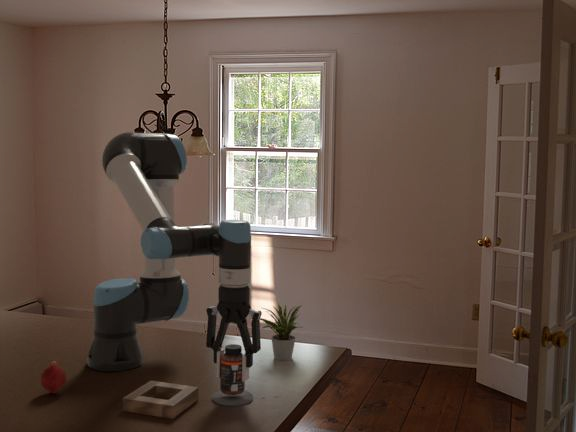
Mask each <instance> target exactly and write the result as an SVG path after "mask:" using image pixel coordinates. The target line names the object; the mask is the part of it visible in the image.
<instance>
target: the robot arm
mask: <svg viewBox="0 0 576 432" xmlns="http://www.w3.org/2000/svg"><path fill="white" fill-rule="evenodd" d="M101 157H102V158H101V162H102V163H101V164H102V167H103V168H102V169H103V171H104V173H105V175H106V177H107V178H108V180H110V181H111V182H112V183H113V184H115V185H116V186H117V188H118V190H119V192H120V193H121V195H122V197H123V199H124V200H125V202H126V204H127V206H128V207H129V209H130V211H131V213H132V214H133V216H134V218H135V219H136V221H137V223H138V224H139V226H140V228H141V230H142V233H141V237H140V246H141V250H142V251H141V252H142V254H143V256H144V269H143V270H142V272H141V273H140V274H139V282H138V281H137V280H136V279H135V278H131V277H123V278H113V279H108V280H105V281H103V282H100V283H98V284H97V286H96V287H95V288H94V290H93V300H92V303H93V304H92V305H93V340H92V342H91V345H90V347H89V352H88V354H87V361H86V363H87V367H88V368H90V369H92V370H95V371H99V372H100V371H101V372H120V371H121V372H122V371H127V370H132V369H135V368H138V367H140V366H141V365H143V363H144V353H143V351H142V347H141V345H140V341H139V338H138V335H137V334H138V332H137V330H138V328H137V326H138V325H141V324H147V323H154V322H162V321H165V322H166V321H170V320H174V319H178V318H180V317H182V315H184V314H185V312H186V310H187V308H188V306H189V305H188V304H189V300H190V299H189V297H190V291H189V288H188V283H187V281H186V280H185V279H183V278H181V273H180V271H178V269H177V268H176V259H177V258H186V257H199V256H200V257H201V256H202V257H203V256H215V257H218V283H219V286H218V296H217V298H218V299H217V300H218V303H217V305H216V306H214V305H212V306H209V307H207V308H206V309H205V310H206V315H207V325H206V326H207V327H206V340H205V341H206V342H205V343H206V344H205V345H206V346H205V347H206V348H208V349H209V348H210V349H212V351H213V363H214V364H216V379H220V378H221V356H222V355H223V354H225V348H222V347H223V343H224V340H225V337H226V333H227V330H228V328H229V325H230V323H232V324H235V325H236V326H237V329H238V331H239V334H240V338H241V342H242V345H243V349H244V353H242V354H243V355H242V381H243V382H246V381H247V380H249V379H250V368H251V367H253V364H254V354H256V353H258V352H259V351H261V349H262V346H261V344H262V343H261V325H260V324H261V320H260V318H261V316H262V311H261V310H258V311H257V310H255V309H252V307H251V305H250V297H251V296H250V295H251V286H250V285H249V284H251V256H252V255H251V252H252V250H251V249H252V248H251V247H252V235H251V233H252V232H251V229H252V228H251V223H250V222H249V221H248V220H244V219H243V220H241V219H224V220H221V221H220V222H219V224H215V223H211V222H209V223H207V222H205V223H200V224H198V225H182V226H180V225H179V226H177V225H176V223H175V185H176V184H177V183H178V182H179V181H180V177H179V176H180V175H181V174H183V173H184V172H185V171H186V167H187V164H188V163H187V162H188V160H187V159H188V158H187V157H188V156H187V152H186V148H185V145H184V143H183V141H182V140H181V138H180V137H179V136H177V135H175V134H172V133H165V132H164V133H163V132H155V133H154V132H132V131H127V132H122V133H119V134H118V135H116V136H114V137H113V138H112V139H110V140H109V141H108V143H107V144H106V146H105V147H104V150H103V153H102V156H101ZM218 313H219V315H220V316H221V319H220V322H219V328H218V331H216V329H217V315H218ZM248 316H249V318H250V319H251V323H250V324H251V335H250V331H249V328H248V320H247V317H248ZM216 332H217V334H216Z"/></svg>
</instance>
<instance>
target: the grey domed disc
mask: <svg viewBox="0 0 576 432" xmlns="http://www.w3.org/2000/svg"><path fill="white" fill-rule="evenodd" d="M253 400H254V395H253V392H252V393H251V392H250V391H248V390H245V389H244V392H242V393H241V394H237V395H228V394H224V393H222V392H221V390H220V389H219V390H217V391H216V392H214V393H213V394H212V396H211V401H212V402H213V403H215V404H217V405H220V406H225V407H239V406H244V405H248V404H249V403H252V402H253Z"/></svg>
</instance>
